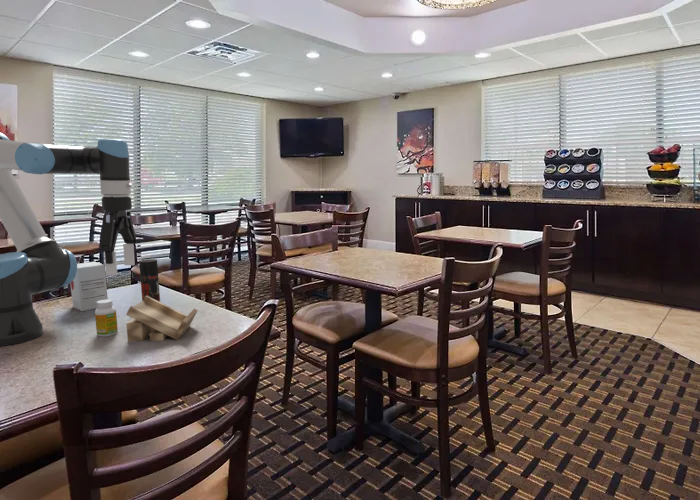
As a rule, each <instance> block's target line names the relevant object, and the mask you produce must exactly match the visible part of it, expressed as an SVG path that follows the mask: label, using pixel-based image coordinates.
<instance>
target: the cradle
mask: <svg viewBox="0 0 700 500" xmlns="http://www.w3.org/2000/svg"><path fill="white" fill-rule="evenodd" d="M198 311H199V310H198V309H196V308H193V309H192V310H191V312H189V313H188V315H187V314H184V313H182V312H180V311H179V310H177V309H174V308H172V307H170V306H168V305H166V304H165V303H163V302H161V301H157V300H155V299H153V298H151V297H149V296H147V295H146V296H145V298H144V300H143V301H142V300H141V301H140V302H139V303H137V304H136V305H134V306H133V305H130V306H129V308H128V310H127V312H126V314H125V315H126V316H128V317H129V318H130V320H129V321H127V322H126V323H125V325H126V337H127V342H143V341H145V339H147V338H148V337H149V341H151V342H154V341H155V342H157V341H158V342H159V341H165V340H166V338H168V337H170V338H172V339H174V340H176V341H178V340H179V339H180V337H181V336H182V335H183V334H184V333H185V332H186V331H187V330H188V328H189V327H190V326H191V324H192V322H193V320H194V318H195V317H196V314H197V312H198Z"/></svg>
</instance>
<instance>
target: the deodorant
mask: <svg viewBox="0 0 700 500" xmlns="http://www.w3.org/2000/svg"><path fill="white" fill-rule="evenodd" d="M138 262H139V263H138V264H139V278H140V279H139V280H140V289H141V291H140V292H141V302H142V301H143V300H144V298H145V296H146V295H147V296H149V297H151V298H153V299H155V300H157V301H159V302H161V295H160V294H161V293H160V282H159V269H158V259H155V258H150V259H148V258H146V259H141V260H139V261H138Z"/></svg>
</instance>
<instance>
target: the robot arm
mask: <svg viewBox="0 0 700 500" xmlns="http://www.w3.org/2000/svg"><path fill="white" fill-rule="evenodd" d="M128 145H129V144H128V142H127V141H126V140H123V139H113V138H112V139H110V138H107V139H106V138H102V139H101V138H100V139H99V140H97V146H77V145H75V146H74V145H62V144H48V143H40V142H39V143H37V142H27V141H18V140H10V139H9V137H8V136H6V135H5V134H4V133H2V132H0V221H1V223H2V225H3V227H4V228H5V230H6V232H7V233H8V235H9V237H10V239H11V241H12V243H13V244H14V247H15V248H16V251H14V252H13V251H12V252H11V251H10V252H6V253H0V347H3V346H11V345H16V344H20V343H24V342H27V341H31V340H34V339H36V338H39V337H40V336H42V335H43V334H44V328H43V323H42V322H41V320H40V318H39V316H38V313H36V310H35V308H34V305H33V295H38V294H41V293H45V292H49V291H51V290H52V291H53V290H58V289H60V288H62V287H65V286H68V285H70V283H71V282H72V281H73V280H74V278H75V276H76V272H77V264H78V262H77V258H76V256H75V255H74V253H73V252H71V251H70V250H68V249H66V248H60V245H59V244H58V243H57V241H56V240H55V239H53V238H49V237H48V235H47V233H46V232H45V230H44V228H43V226H42V225H41V223H40V221H39V219H38V217H37V216H36V214H35V212H34V210H33V207H32V206H31V205H30V202H29V201H28V199H27V198H26V196H25V194H24V192H23V191H22V188H21V187H20V185H19V184H18V182H17V180H16V178H15V176H14V174H13V172H12V170H13V171H14V170H15V171H22V172H23V173H27V174H32V175H48V174H49V175H50V174H51V175H52V174H54V175H55V174H61V175H64V174H69V175H70V174H71V175H72V174H73V175H87V174H88V175H91V174H92V175H94V174H95V175H97V174H98V175H99V178H100V179H99V182H100V185H99V186H100V194H101V196H102V197H101V209H102V210H104V211H108V214H104V215H102V231H101V238H100V244H99V251H100V253H104V265H105V274H106V276H117V275H118V263H117V251H115V248H116V243H117V240H118V236H119V232H120V235H121V237H122V240H123V242H124V243H123V244H122V245H123V246H122V247H123V260H124V266H135V265H136V264H135V247H134V244H137V241H138V239H137V236H136V232H135V227H134V224H133V220H132V214H131V210H132V208H133V206H132V197H131V196H130V195H131V192H132V191H131V188H133V185H132V183H131V176H130V154H129V146H128Z"/></svg>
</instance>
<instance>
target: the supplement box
mask: <svg viewBox="0 0 700 500" xmlns="http://www.w3.org/2000/svg"><path fill="white" fill-rule="evenodd" d="M69 285H70V292H71V293H70V294H71V303H72V308H74V309H76V310H79V311H80V312H84V311H85V312H86V311H92V310H94V309H95V310H96V309H98V307H97V301H100V300H107V299H108V286H107V275H106V269H105V264H104V263H103V264H102V263H101V262H98V261H97V262H96V261H90V262H82V263H77V272H76V276H75V278H74V280H73V281H72V282H71V283H70V284H69Z"/></svg>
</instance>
